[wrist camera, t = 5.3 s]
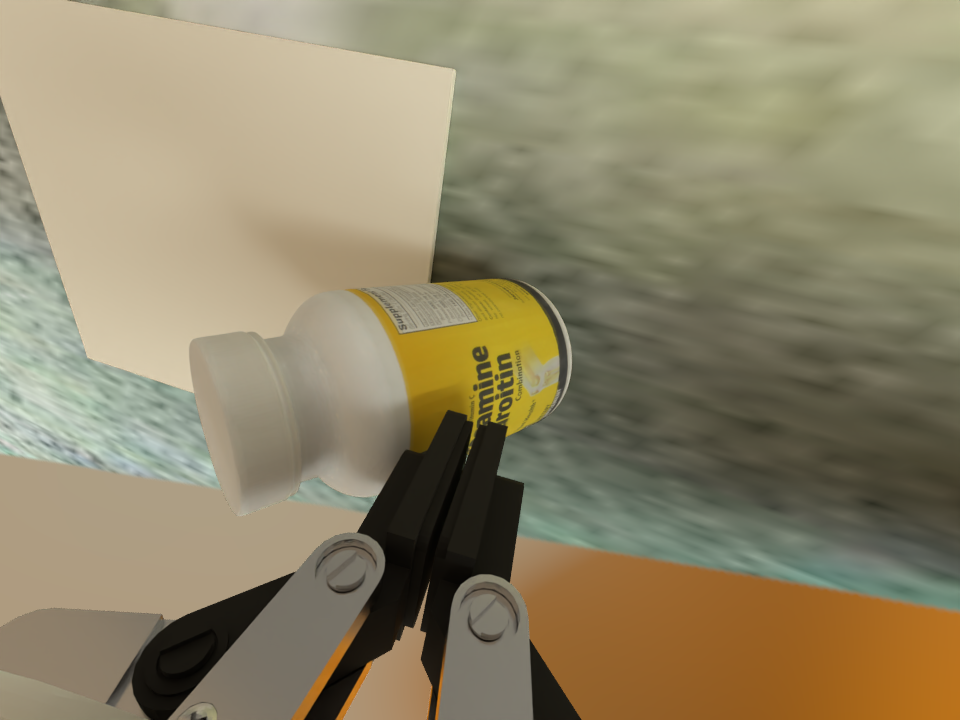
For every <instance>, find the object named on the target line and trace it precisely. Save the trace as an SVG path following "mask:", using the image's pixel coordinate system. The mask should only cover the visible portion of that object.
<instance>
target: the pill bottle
mask: <svg viewBox="0 0 960 720" xmlns="http://www.w3.org/2000/svg"><path fill="white" fill-rule="evenodd" d="M189 362H190V371H191V377H192V384H193V389H194V394H195V399H196V404H197V408H198V412H199V416H200V420H201V424H202V428H203V432H204V435H205V439H206V442H207V446H208V449H209V453H210V456H211V460H212V463H213V466H214V469H215V472H216V476H217V478H218V481H219V483H220V486H221V489H222V491H223V494H224V496H225V499H226V501H227V503H228V505H229V507H230V509H231V510H232V511H233V513H234V514H235V515H237V516H244V515H247V514H250V513H253V512H255V511H258V510H260V509H263V508H266V507H269V506H271V505H274V504H277V503H280V502H282V501H284V500H286V499H287V498H288V497H289V496H292V495H294V494H296V493H297V491H298V489H299V486H300V483H301V482H304V481H307V480H310V479H313V478H316V477H319V478H320V479H321V480H322V481H323V482H324V483H326V484H327V485H328V486H330V487H331V488H333V489H335V490H337V491H339V492H341V493H343V494H346V495H350V496H354V497H371V496H375V495H379V493H380V492H381V490H382V488H383V487H384V485H385V483H386V481H387V480H388V478H389V476H390V474H391V473H392V471H393V469H394V468H395V466H396V464H397V462H398V461H399V459H400V457H401V455H402V454H403V452H404V451H405V450H406V449H407V450H411V451H414V452H418V453H421V454H426V452H427V450H428V448H429V446H430V444H431V442H432V440H433V438H434V436H435V434H436V432H437V430H438V428H439V426H440V424H441V422H442V420H443V418H444V416H445V414H446V412H447V410H451V411H455V412H458V413H462V414H466V415H467V421H471V422H473V429H472V433H471V438H470V443H469V447H468V452H467V455H468V454H469V452H470V449H471V447H472V444H473V441H474V438H475V435H476V432H477V429H478V427H479V424H481V425H485V426H487V424H488V421H491V422H495V423H498V424H502V425H506V426H508V429H507V433H506V437H507V436H509V435H511V434H513V433H515V432H518V431H520V430H522V429H524V428H526V427H529V426H531V425H533V424H535V423H537V422H539V421H541V420H542V419H544V418H545V417H547V416H548V415H550V414H551V413H552V412H553V411H554V410H555V409H556V407H557V406H558V405H559V404H560V402H561V401H562V399H563V397H564V395H565V393H566V390H567V388H568V385H569V381H570V376H571V370H572V352H571V345H570V340H569V336H568V332H567V329H566V326H565V324H564V322H563V320H562V318H561V316H560V314H559V312H558V311H557V309H556V308H555V306H554V305H553V304H552V302H551V301H550V300H549V299H548V298H547V297H546V296H545V295H544V294H543V293H542V292H540V291H539V290H538V289H536V288H535V287H533V286H531V285H529V284H527V283H525V282H523V281H519V280H516V279H508V278H499V279H483V280H470V281H456V282H442V283H427V284H413V285H398V286H384V287H370V288H357V289H345V290H334V291H327V292H322V293H319V294H317V295H314V296H313V297H311V298H309V299H308V300H306V301H305V302H304V303H303V304H302V305H301V306H300V307H299V308H298V309H297V311H296V312H295V313H294V315H293V316H292V318H291V319H290V321H289V323H288V325H287V327H286V330H285V332H284V335H283V336H280V337H274V338H268V339H263V338H262V337H261V336H260V335H259V334H258V333H256V332H247V333H246V332H243V331H238V332H232V333H226V334H219V335H212V336H206V337H199V338H195V339H193V340H192V341H191V342H190V346H189Z"/></svg>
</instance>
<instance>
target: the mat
mask: <svg viewBox="0 0 960 720" xmlns="http://www.w3.org/2000/svg"><path fill="white" fill-rule="evenodd" d="M455 78H456V71H455V70H454V69H451V68H445V67H440V66H434V65H428V64H423V63H417V62H411V61H406V60H400V59H394V58H389V57H383V56H378V55H372V54H366V53H361V52H355V51H349V50H344V49H338V48H332V47H327V46H321V45H315V44H310V43H304V42H299V41H293V40H287V39H282V38H276V37H270V36H265V35H259V34H253V33H248V32H242V31H237V30H231V29H225V28H220V27H214V26H208V25H203V24H197V23H191V22H186V21H180V20H175V19H169V18H163V17H158V16H152V15H146V14H141V13H135V12H129V11H124V10H118V9H112V8H107V7H101V6H96V5H90V4H84V3H79V2H73V1H67V0H0V96H1V99H2V102H3V105H4V108H5V111H6V114H7V117H8V120H9V123H10V126H11V129H12V132H13V135H14V138H15V141H16V144H17V147H18V150H19V153H20V156H21V159H22V162H23V165H24V168H25V171H26V174H27V177H28V180H29V183H30V186H31V189H32V192H33V195H34V198H35V201H36V204H37V207H38V210H39V213H40V216H41V219H42V222H43V225H44V228H45V231H46V234H47V237H48V240H49V243H50V246H51V249H52V252H53V255H54V258H55V261H56V264H57V267H58V270H59V273H60V276H61V279H62V282H63V285H64V288H65V291H66V294H67V297H68V300H69V303H70V306H71V309H72V312H73V315H74V318H75V321H76V324H77V327H78V330H79V333H80V336H81V339H82V342H83V345H84V348H85V351H86V354H87V357H88V358H89V359H92V360H95V361H98V362H101V363H104V364H108V365H111V366H114V367H117V368H120V369H123V370H126V371H129V372H132V373H135V374H138V375H141V376H144V377H147V378H150V379H153V380H156V381H159V382H162V383H165V384H168V385H171V386H174V387H177V388H180V389H183V390H186V391H189V392H192V393H194V389H193V384H192V377H191V371H190V362H189V346H190V342H191V341H192V340H193V339H195V338H199V337H206V336H212V335H219V334H226V333H232V332H238V331H243V332H246V333H247V332H256V333H258V334H259V335H260V336H261V337H262V338H263V339H268V338H274V337H280V336H283V335H284V332H285V330H286V327H287V325H288V323H289V321H290V319H291V318H292V316H293V315H294V313H295V312H296V311H297V309H298V308H299V307H300V306H301V305H302V304H303V303H304V302H305V301H306V300H308V299H309V298H311V297H313V296H314V295H317V294H319V293H322V292H327V291H334V290H345V289H357V288H370V287H384V286H398V285H413V284H427V283H430V282H431V274H432V266H433V258H434V249H435V241H436V233H437V225H438V217H439V209H440V200H441V192H442V184H443V176H444V168H445V160H446V151H447V143H448V135H449V127H450V119H451V111H452V102H453V94H454V86H455Z"/></svg>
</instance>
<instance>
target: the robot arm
mask: <svg viewBox="0 0 960 720" xmlns="http://www.w3.org/2000/svg"><path fill="white" fill-rule="evenodd" d="M472 429H473V422H471V421H467V415H466V414H462V413H458V412H455V411H451V410H447V412H446V414H445V416H444V418H443V420H442V422H441V424H440V426H439V428H438V430H437V432H436V434H435V436H434V438H433V440H432V442H431V444H430V446H429V448H428V450H427V452H426V454H421V453H418V452H414V451H411V450H407V449H406V450H405V451H404V452H403V454H402V455H401V457H400V459H399V461H398V462H397V464H396V466H395V468H394V469H393V471H392V473H391V474H390V476H389V478H388V480H387V481H386V483H385V485H384V487H383V488H382V490H381V492H380V493H379V495H378V497H377V499H376V500H375V502H374V504H373V506H372V507H371V509H370V511H369V513H368V514H367V516H366V518H365V519H364V521H363V523H362V525H361V526H360V528H359V530H358V532H357V533H344V534H340V535H335V536H334V537H332V538H330V539H328V540H326V541H324V542H323V543H322V544H321V545H320V546H319V547H318V548H316V549H315V550H314V552H313V553H312V554H311V555H310V556H309V557H308V559H307V560H306V561H305V562H304V563H303V564H302V566H301V567H300V568H299V569H298V570H297V571H296V572H293V573H291V574H288V575H286V576H284V577H281V578H278V579H276V580H273V581H271V582H268V583H265V584H263V585H260V586H258V587H255V588H253V589H251V590H248V591H245V592H243V593H240V594H238V595H235V596H233V597H230V598H228V599H225V600H223V601H220V602H217V603H215V604H213V605H210V606H207V607H205V608H202V609H200V610H197V611H195V612H192V613H190V614H187V615H185V616H183V617H181V618H179V619H178V620H165V619H164V618H163V615H162V614H149V613H132V612H131V613H130V612H115V611H98V610H81V609H62V608H50V609H41V610H36V611H33V612H30V613H27V614H25V615H22V616H19V617H17V618H15V619H14V620H12V621H10V622H9V623H7V624H5V625H3V626H2V627H0V720H343V718H344V716H345V715H346V713H347V711H348V709H349V707H350V705H351V704H352V702H353V700H354V698H355V696H356V695H357V693H358V691H359V689H360V687H361V685H362V683H363V682H364V680H365V678H366V676H367V674H368V673H369V671H370V669H371V667H372V664H373V662H374V659H376V658H378V657H379V656H381V655H383V654H385V653H386V652H388V651H390V650H392V647H393V645H394V642H395V639H396V640H399V641H400V638H401V635H402V632H403V630H404V627H405V626H408V627H411V628H413V627H414V625H415V622H416V620H417V616H418V613H419V611H420V608H421V605H422V601H423V599H424V596H425V593H426V590H427V587H428V584H429V588H428V593H427V598H426V604H425V609H424V614H423V619H422V624H421V629H420V630H421V631H423V632H426V637H425V641H424V647H423V651H422V656H421V661H422V664H423V666H424V668H425V671H426V673H427V675H428V677H429V680H430V682H431V684H432V685H431V691H430V698H429V705H428V712H427V719H426V720H581V718H580V717H579V716H578V714H577V712H576V711H575V709H574V708H573V706H572V704H571V703H570V702H569V700H568V698H567V697H566V695H565V693H564V692H563V690H562V689H561V687H560V686H559V684H558V683H557V681H556V680H555V678H554V676H553V675H552V673H551V672H550V670H549V669H548V667H547V665H546V664H545V662H544V661H543V659H542V658H541V656H540V654H539V653H538V652H537V650H536V648H535V647H534V645H533V644H532V642H531V640H530V639H529V621H528V614H527V608H526V605H525V602H524V600H523V599H522V596H521V594H520V593H519V592H518V591H517V590H516V589H515V588H514V586H513V585H512V584H510V577H511V571H512V563H513V557H514V550H515V544H516V537H517V530H518V524H519V517H520V510H521V503H522V497H523V490H524V483H522V482H518V481H515V480H511V479H508V478H504V477H501V476H497V475H496V474H497V470H498V466H499V462H500V458H501V454H502V449H503V445H504V441H505V437H506V433H507V429H508V426H506V425H502V424H498V423H495V422H491V421H488V424H487V426H485V425H481V424H479V427H478V429H477V432H476V435H475V438H474V441H473V444H472V447H471V449H470V452H469V455H468V458H467V461H466V457H467V452H468V447H469V443H470V438H471V433H472ZM465 461H466V464H465ZM429 581H430V583H429Z"/></svg>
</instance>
